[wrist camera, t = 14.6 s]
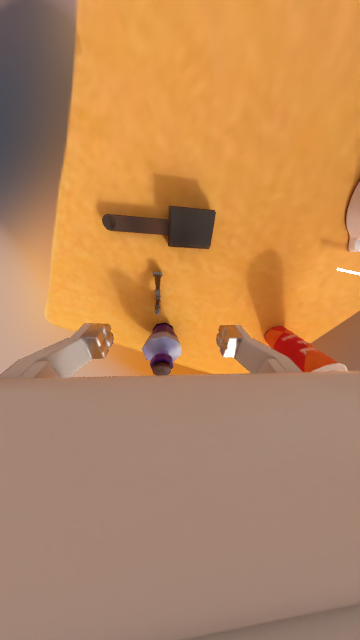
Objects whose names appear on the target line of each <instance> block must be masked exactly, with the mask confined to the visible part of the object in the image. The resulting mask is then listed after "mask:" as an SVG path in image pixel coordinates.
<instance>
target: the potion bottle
mask: <svg viewBox="0 0 360 640" xmlns="http://www.w3.org/2000/svg"><path fill="white" fill-rule="evenodd" d="M142 350H143V353H144V355H145V357H146V359H147V360H149V361H151V363H150V366H151V368H152V370H153V373H154V374H155V375H157V376H158V375H168V374H169V373H170V372H171V369H172V368H173V362H174V361H175V360H176V359H177V358H178V357H179V356H180V355H181V354H182V352H181V347H180V342H179V340H178V338H177V335H175V333H174V331H173V327H172V326H170V325H169V324H167V323H161V324H157V325H156V326H155V327H154V329H153V332H152V334H151V335H150V337H149V338H148V339H147V341H146V343H145V344H144V346H143V348H142Z"/></svg>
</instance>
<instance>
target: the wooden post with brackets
mask: <svg viewBox="0 0 360 640" xmlns="http://www.w3.org/2000/svg"><path fill="white" fill-rule="evenodd" d="M153 276H155V284H156V290H155V296H156V297H155V299H156V305H155V312H156V315H159V312H160V306H159V303H160V302H161V301H160V297H161V296H160V278H161V276H162V273H160V272H153Z"/></svg>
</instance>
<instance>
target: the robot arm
mask: <svg viewBox="0 0 360 640" xmlns="http://www.w3.org/2000/svg"><path fill="white" fill-rule="evenodd" d="M346 226H347V230H348V232H349V236H350V240H349V245H348V250H349V252H360V181H359V183H358V185H357V187H356V189H355V191H354V193H353V195H352V198H351V200H350V203H349V206H348V210H347V216H346ZM337 270H339V271H344V272H348V273H353V274H357V275H360V273H357V272H353V271H348V270H344V269H339V268H337ZM110 330H111V327H110V325H109V324H98V323H94V324H93V323H86V324H84V325H83V326H82V327H81V328H80V329H79V330H78V331H77V332H76V333H75V334H74V335H73V336H72V337H71V338H67V339H64V340H62V341H60V342H58V343H56V344H53V345H51V346H49V347H47V348H44V349H42V350H40V351H38V352H35V353H33V354H31V355H29V356H27V357H24V358H22V359H20V360H18V361H16V362H15V363H14V364H13V365H11V366H10V367H9V368H8V369H7V370H5V371H4V372H3V373H2V374H0V640H360V371H337V372H302V371H301V370H300V369H299V368H298V367H297V366H296V365H295V364H294V362H293V361H292V360H291V359H290V358H289V357H287V356H285V355H283V354H281V353H279V352H277V351H276V350H274V349H272V348H270V347H268V346H266V345H264V344H262V343H261V342H259V341H257V340H255V339H251V338H250V336H249V335H248V334H247V333H246V331H245V330H244V329H243V328H242V326H240V325H220V327H219V333H218V334H217V338H216V341H217V345H218V346H219V347H220V352H221V354H222V356H223V357H234V358H235V359H236V360H237V361H238V362H239V363H240V364H242V365H243V366H244V367H245V368H246V369H247V370H248V371H250V372H251V373H248V374H208V375H207V374H203V375H158V376H115V377H72V378H71V377H70V376H71V375H72V374H74V373H75V372H76V371H77V370H78V369H80V368H81V367H82V366H83V365H85V364H86V363H88V362H89V361H90V360H91V359H99V358H105V357H106V355H107V353H108V351H109V350H108V348H109V347H111V346H112V344H113V340H114V338H113V334H112V333H111V332H110ZM68 377H70V378H68Z"/></svg>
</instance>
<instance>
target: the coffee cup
mask: <svg viewBox="0 0 360 640" xmlns="http://www.w3.org/2000/svg"><path fill="white" fill-rule="evenodd" d="M265 340H266V342H267V343H268V344H269V346H270V347H271V348H272V349H274V350H276V351H277V352H279V353H281V354H283V355H285V356H287V357H289V358H290V359H291V360H292V361H293V362H294V364H295V365H296V366H297V367H298V368H299V369H300V370H301V371H302V372H337V371H348V370H347V368H346V366H345V365H344V364H340V363H337V362H336V361H334V360H333V359H331V358H330V357H328V356H327V355H325V354H323V353H322V352H321V351H319V350H318V349H316V348H315V347H313V346H312V345H310V344H309V343H307V342H306V341H304V340H303V339H301V338H300V337H298V336H297V335H295V334H294V333H292V332H291V331H289V330H287V329H286V328H284V327H282V326H277V327H274V328H272V329H270V330H269V331H268V332H267V333H266V334H265Z"/></svg>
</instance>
